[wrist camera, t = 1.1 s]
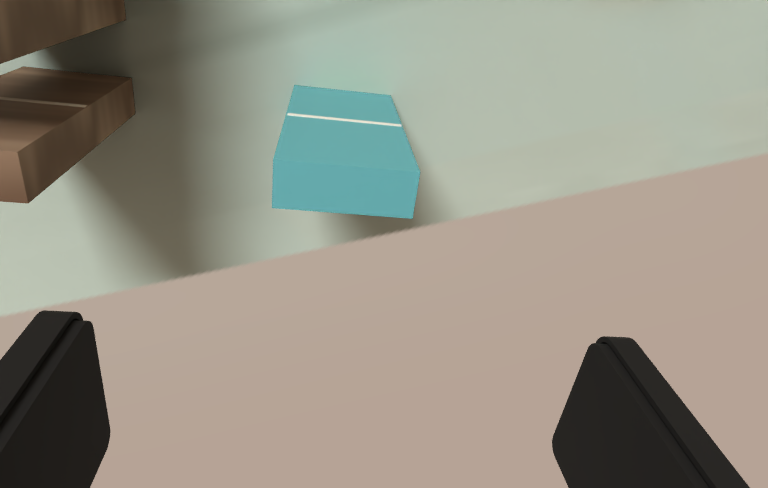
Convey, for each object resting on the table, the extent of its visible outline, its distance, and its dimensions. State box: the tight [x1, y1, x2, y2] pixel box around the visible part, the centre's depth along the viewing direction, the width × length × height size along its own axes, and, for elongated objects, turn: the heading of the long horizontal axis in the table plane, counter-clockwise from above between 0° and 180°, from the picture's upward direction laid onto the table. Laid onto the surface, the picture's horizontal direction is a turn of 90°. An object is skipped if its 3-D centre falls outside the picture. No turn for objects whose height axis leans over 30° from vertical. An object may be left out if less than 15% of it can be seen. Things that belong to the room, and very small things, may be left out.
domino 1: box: [0, 0, 126, 64], centre depth 20 cm, size 2×5×11 cm, turn 83°
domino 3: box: [272, 85, 420, 219], centre depth 23 cm, size 2×5×11 cm, turn 83°
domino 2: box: [0, 67, 135, 203], centre depth 22 cm, size 2×5×11 cm, turn 83°
